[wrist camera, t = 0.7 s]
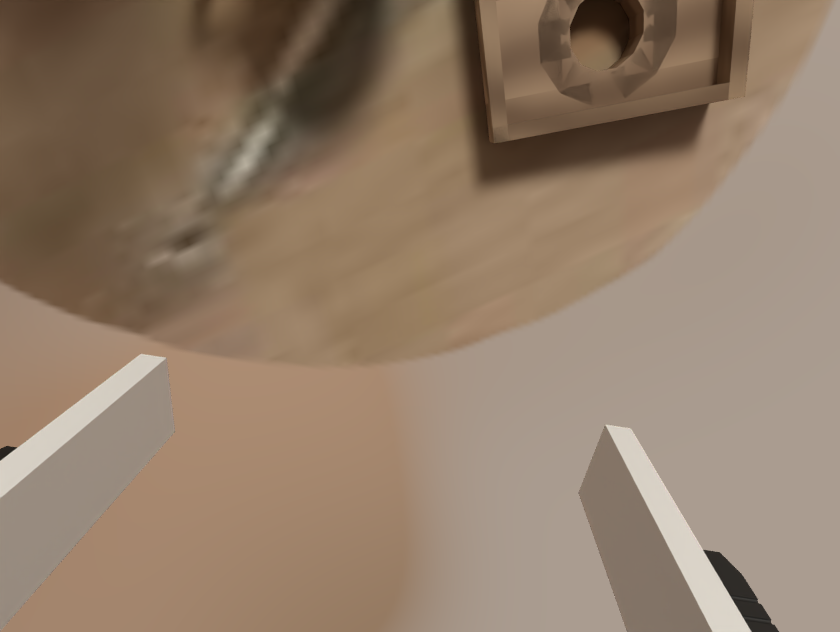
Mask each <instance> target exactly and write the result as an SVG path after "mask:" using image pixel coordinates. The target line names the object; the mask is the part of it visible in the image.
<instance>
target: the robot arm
mask: <svg viewBox="0 0 840 632" xmlns="http://www.w3.org/2000/svg"><path fill="white" fill-rule="evenodd" d="M174 432H175V428H174V419H173V410H172V401H171V392H170V383H169V374H168V367H167V358H165V357H158V356H152V355H144V354H140V355H139V356H137V357H136V358H135V359H133V360H132V361H131V362H130V363H129V364H127V365H126V366H124V367H123V368H122V369H120V370H119V371H118V372H116V373H115V374H114V375H112V376H111V377H110V378H109V379H107V380H106V381H105V382H103V383H102V384H101V385H99V386H98V387H97V388H95V389H94V390H93V391H91V392H90V393H89V394H87V395H86V396H85V397H84V398H82V399H81V400H80V401H78V402H77V403H76V404H74V405H73V406H72V407H70V408H69V409H68V410H66V411H65V412H64V413H62V414H61V415H60V416H59V417H58V418H56V419H55V420H53V421H52V422H51V423H49V424H48V425H47V426H45V427H44V428H43V429H42V430H40V431H39V432H37V433H36V434H35V435H34V436H32V437H31V438H30V439H28V440H27V441H26V442H24V443H23V444H22V445H20V446H19V447H18V448H17V447H10V446H6V447H4V448H1V449H0V631H1V630H2V629H3V627H4V626H5V625H6V624H7V623H8V622H9V621H10V619H11V618H12V617H13V616H14V615H15V614H16V613H17V611H18V610H19V609H20V608H21V607H22V606H23V605H24V604H25V602H26V601H27V600H28V599H29V598H30V597H31V595H32V594H33V593H34V592H35V591H36V590H37V589H38V588H39V586H40V585H41V584H42V583H43V582H44V581H45V580H46V578H47V577H48V576H49V575H50V574H51V573H52V572H53V570H54V569H55V568H56V567H57V566H58V565H59V564H60V562H61V561H62V560H63V559H64V558H65V557H66V556H67V554H68V553H69V552H70V551H71V550H72V549H73V547H74V546H75V545H76V544H77V543H78V542H79V541H80V540H81V538H82V537H83V536H84V535H85V534H86V533H87V532H88V530H89V529H90V528H91V527H92V526H93V525H94V524H95V522H96V521H97V520H98V519H99V518H100V517H101V516H102V514H103V513H104V512H105V511H106V510H107V509H108V508H109V507H110V505H111V504H112V503H113V502H114V501H115V500H116V499H117V497H118V496H119V495H120V494H121V493H122V492H123V491H124V489H125V488H126V487H127V486H128V485H129V484H130V482H131V481H132V480H133V479H134V478H135V477H136V476H137V474H138V473H139V472H140V471H141V470H142V469H143V468H144V467H145V465H146V464H147V463H148V462H149V461H150V460H151V459H152V457H153V456H154V455H155V454H156V453H157V451H159V449H160V448H161V447H162V446H163V445H164V444H165V443H166V441H167V440H168V439H169V438H170V437H171V436H172V435H173V433H174ZM579 496H580V499H581V502H582V504H583V507H584V510H585V513H586V516H587V519H588V522H589V524H590V527H591V530H592V533H593V536H594V539H595V541H596V544H597V547H598V550H599V553H600V556H601V558H602V561H603V564H604V567H605V570H606V573H607V576H608V578H609V581H610V584H611V587H612V590H613V593H614V596H615V599H616V601H617V604H618V607H619V610H620V613H621V616H622V619H623V621H624V624H625V627H626V630H627V632H779V631H778V630H777V628H776V627H775V625H772V624H771V619H770V617H769V616H768V614H767V613H766V611H765V609H764V608H763V606H762V605H761V604H759V603H758V601H757V600H758V599H757V597H756V596H755V594H754V592H753V591H752V589H751V588H750V586H749V585H748V583H747V582H746V580H745V579H744V577H743V576H742V574H741V573H740V572H739V571H738V570H737V569H736V568H735V567H734V566H733V565H732V564H731V563H730V562H729V561H728V560H727V559H726V558H725V557H724V556H723V555H722V554H721V553H720V552H714V551H707V550H703V549H702V548H701V546H700V544H699V543H698V541H697V539H696V538H695V536H694V534H693V533H692V531H691V529H690V527H689V526H688V524H687V523H686V521H685V519H684V518H683V516H682V514H681V512H680V511H679V509H678V507H677V506H676V504H675V502H674V501H673V499H672V497H671V495H670V494H669V492H668V490H667V489H666V487H665V485H664V484H663V482H662V480H661V479H660V477H659V475H658V474H657V472H656V470H655V468H654V467H653V465H652V463H651V462H650V460H649V458H648V457H647V455H646V453H645V452H644V450H643V448H642V447H641V445H640V443H639V442H638V440H637V438H636V437H635V435H634V433H633V431H632V430H631V428H624V427H617V426H611V425H605V427H604V429H603V432H602V434H601V437H600V439H599V442H598V444H597V447H596V449H595V452H594V455H593V457H592V460H591V462H590V465H589V467H588V470H587V473H586V475H585V478H584V480H583V483H582V485H581V488H580V490H579Z"/></svg>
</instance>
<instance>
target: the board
mask: <svg viewBox="0 0 840 632" xmlns="http://www.w3.org/2000/svg"><path fill="white" fill-rule="evenodd" d="M583 1H584V0H474V6H475V15H476V24H477V33H478V42H479V51H480V60H481V69H482V78H483V88H484V97H485V106H486V115H487V124H488V133H489V142H492V143H500V142H505V141H510V140H516V139H521V138H526V137H532V136H537V135H542V134H548V133H553V132H558V131H564V130H569V129H574V128H580V127H585V126H590V125H596V124H601V123H606V122H612V121H617V120H622V119H628V118H633V117H638V116H644V115H649V114H654V113H660V112H665V111H670V110H676V109H681V108H686V107H692V106H697V105H702V104H708V103H713V102H718V101H724V100H729V99H734V98H740V97H745V91H746V81H747V70H748V60H749V49H750V39H751V28H752V18H753V7H754V0H614V1H616V2H619V3H620V4H621V6H622V8H623V9H624V11H625V13H626V15H627V16H628V18H629V41H628V43H627V45H626V48H625V50H624V52H623V54H622V56H621V58H620V59H619V60H618V61H617V62H616V63H615V64H613V65H612V66H611V67H610V68H609V69H607V70H602V71H596V70H593V69H591V68H588V67H586V66H584V65H581V64H580V62H579V61H578V59H577V57H576V56H575V54H574V53H573V51H572V49H571V44H570V25H571V22H572V20H573V18H574V15H575V13H576V11H577V8H578V6H579V5H580V4H581V3H582V2H583Z"/></svg>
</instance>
